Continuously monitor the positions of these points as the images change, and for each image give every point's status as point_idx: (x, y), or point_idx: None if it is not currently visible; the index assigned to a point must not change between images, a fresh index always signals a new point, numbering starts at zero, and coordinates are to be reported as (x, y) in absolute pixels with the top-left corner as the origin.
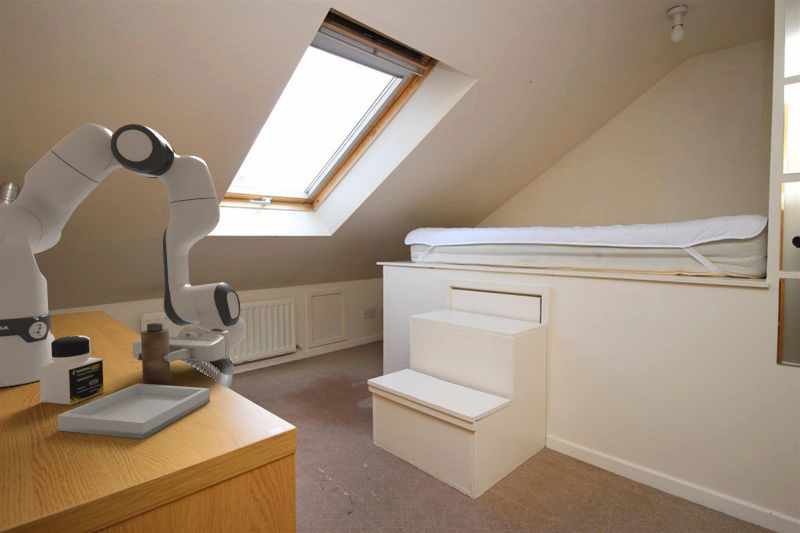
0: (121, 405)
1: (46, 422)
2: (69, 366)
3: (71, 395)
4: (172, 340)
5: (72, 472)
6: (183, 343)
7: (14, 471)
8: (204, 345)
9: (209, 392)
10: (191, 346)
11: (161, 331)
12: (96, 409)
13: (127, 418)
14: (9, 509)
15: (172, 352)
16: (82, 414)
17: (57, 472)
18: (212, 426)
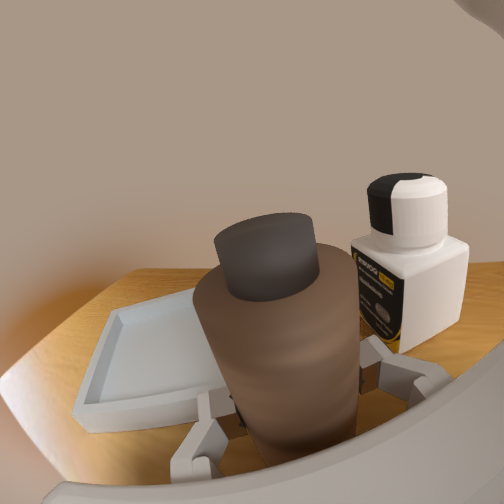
0: None
1: None
2: (359, 238)
3: None
4: (437, 494)
5: (144, 288)
6: (232, 495)
7: (192, 270)
8: (73, 485)
9: (77, 420)
10: (150, 485)
11: (216, 289)
12: None
13: (169, 330)
14: (148, 268)
15: (205, 410)
16: None
17: (156, 283)
18: (59, 368)
